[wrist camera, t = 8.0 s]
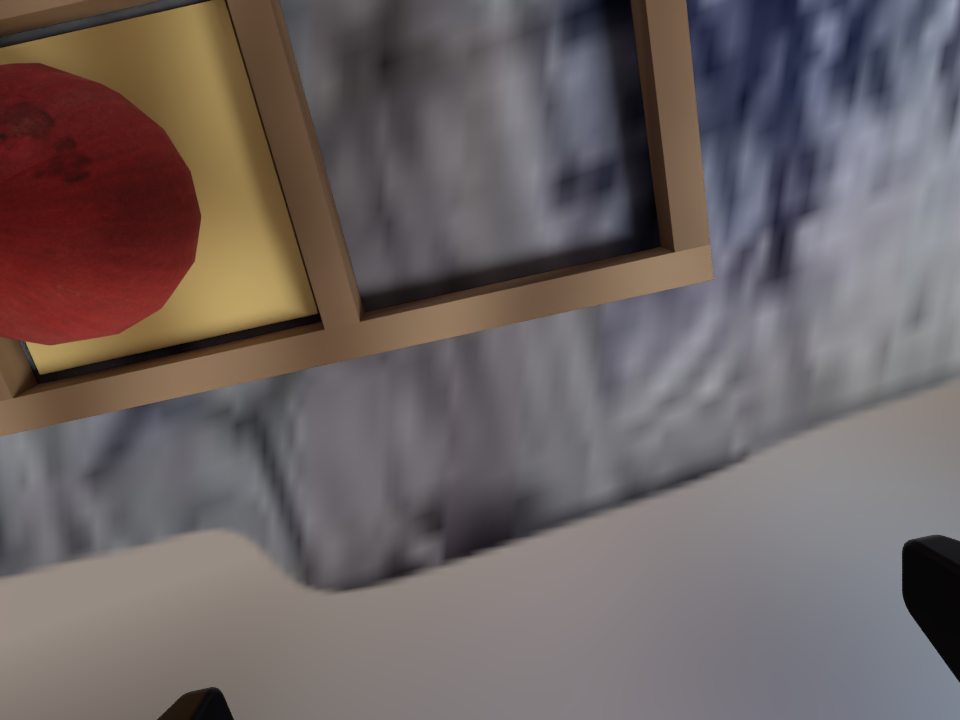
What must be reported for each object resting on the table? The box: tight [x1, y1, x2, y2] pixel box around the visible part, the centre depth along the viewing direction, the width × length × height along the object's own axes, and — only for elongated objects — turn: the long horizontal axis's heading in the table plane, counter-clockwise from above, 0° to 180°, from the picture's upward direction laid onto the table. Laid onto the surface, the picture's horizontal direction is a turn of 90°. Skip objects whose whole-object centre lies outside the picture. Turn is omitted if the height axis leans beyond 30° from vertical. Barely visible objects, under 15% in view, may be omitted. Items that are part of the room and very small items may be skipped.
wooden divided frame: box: [0, 0, 713, 436], centre depth 17 cm, size 21×11×1 cm, turn 102°
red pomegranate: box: [0, 63, 201, 346], centre depth 14 cm, size 6×6×8 cm
